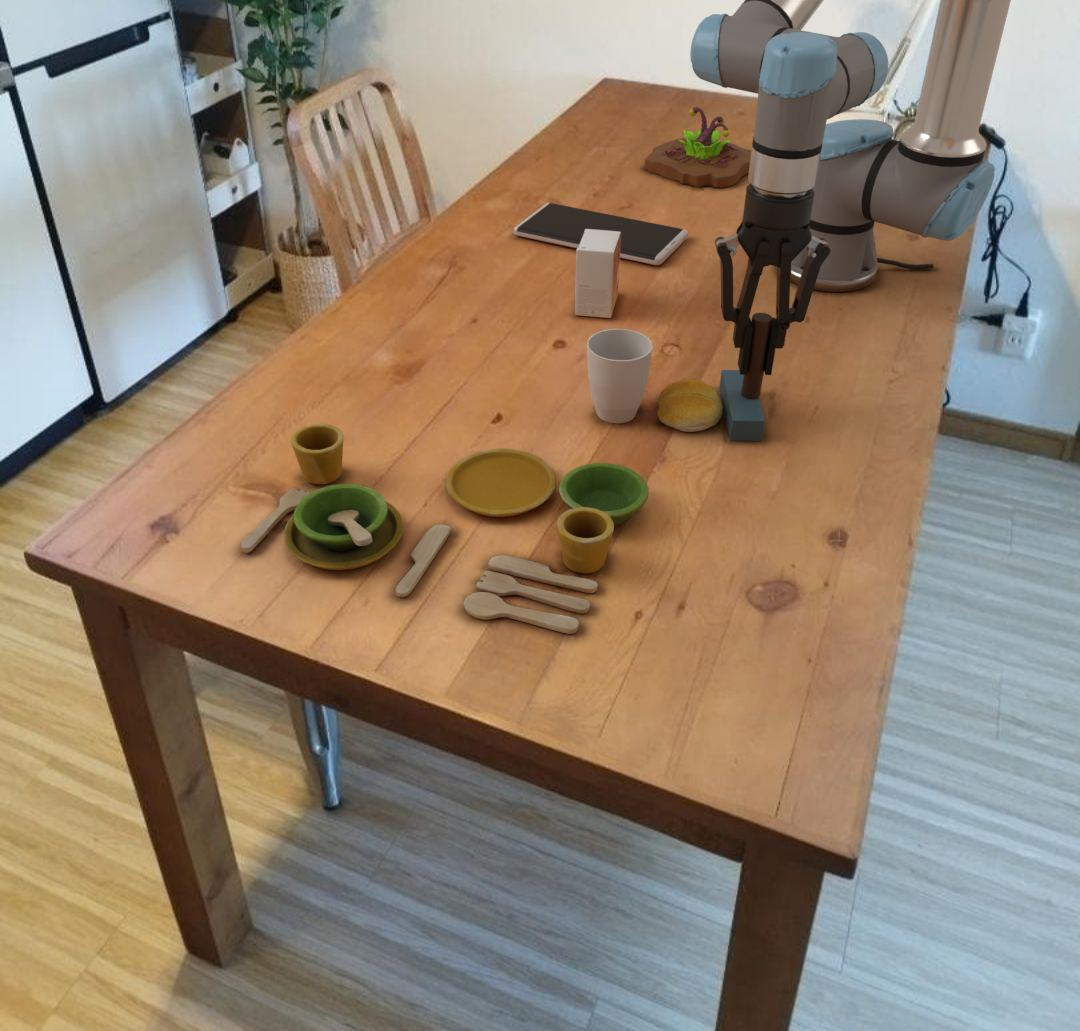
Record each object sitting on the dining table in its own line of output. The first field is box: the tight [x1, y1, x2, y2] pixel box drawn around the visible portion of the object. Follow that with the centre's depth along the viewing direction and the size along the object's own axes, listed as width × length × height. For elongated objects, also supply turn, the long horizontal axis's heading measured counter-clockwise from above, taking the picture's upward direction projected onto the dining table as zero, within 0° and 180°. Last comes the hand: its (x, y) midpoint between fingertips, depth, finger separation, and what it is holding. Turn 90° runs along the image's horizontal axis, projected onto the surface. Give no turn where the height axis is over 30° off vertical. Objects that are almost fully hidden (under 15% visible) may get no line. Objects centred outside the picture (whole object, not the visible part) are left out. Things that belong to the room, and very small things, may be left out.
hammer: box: [718, 312, 773, 442], centre depth 134 cm, size 4×12×14 cm, turn 179°
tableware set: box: [241, 423, 650, 635], centre depth 119 cm, size 41×28×6 cm
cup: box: [586, 328, 653, 424], centre depth 135 cm, size 8×8×10 cm
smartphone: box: [513, 202, 689, 266], centre depth 181 cm, size 13×27×2 cm, turn 63°
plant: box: [644, 106, 752, 189], centre depth 205 cm, size 20×20×11 cm
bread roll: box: [656, 378, 724, 433], centre depth 137 cm, size 8×9×4 cm
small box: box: [574, 229, 621, 319], centre depth 159 cm, size 8×6×10 cm
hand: (754, 369), depth 134 cm, fingers closed on hammer, 2 cm apart
